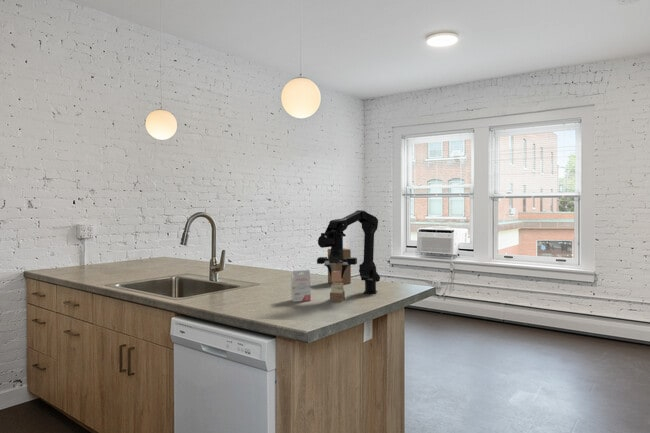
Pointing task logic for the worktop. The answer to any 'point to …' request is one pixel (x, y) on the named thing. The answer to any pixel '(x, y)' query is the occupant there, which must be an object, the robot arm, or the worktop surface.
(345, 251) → the wooden block
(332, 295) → the tower base
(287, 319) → the worktop surface
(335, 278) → the terracotta block
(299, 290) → the ink cartridge box
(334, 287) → the tower middle
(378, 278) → the robot arm
